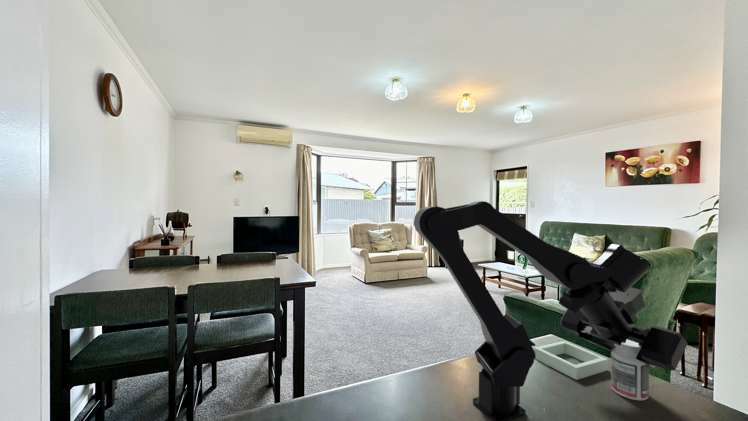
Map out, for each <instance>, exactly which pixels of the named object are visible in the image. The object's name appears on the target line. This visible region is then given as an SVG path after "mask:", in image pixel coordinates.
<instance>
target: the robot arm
mask: <svg viewBox="0 0 748 421" xmlns="http://www.w3.org/2000/svg"><path fill="white" fill-rule="evenodd" d="M476 226H478V227H480V228H481V229H483V231H486V232H487V233H489V234H490V235H492V236H493V237H495V238H496V239H498V240H499V241H501V242H502V243H504V244H506V245H507V246H508V247H510V248H511V249H513V250H514V251H516V252H517V253H519V254H521V256H523V257H525V258H526V259H527V260H528V261H529V262H530V263H531V265H532V266H533V268H534V269H535V270H536V271H538V273H539V274H541V275H542V276H543V277H544V278H545V280H547V281H549V282H552V283H554V284H557V285H559V286H562V287H564V288H566V289H567V291H564V292H562V294H561V295H562V296H560V298H559V301H558V304H559V305H560V306H562V307H563V308H566V310H565V312H564V313H563V315H562V317H561V319H560V326H561V328H562V329H563V331H564V332H567V333H569V334H572V335H574V336H577V337H578V338H580V339H583V340H584V341H588V342H589V343H592V344H594V345H596V346H598V347H600V348H603V349H606V350H608V351H610V352H612V350H613V349H615V348H616V347H615V345H614V344H617V345H619V346H620V345H621V343H625V342H626V339H628V340H631V341H633V342H636V343H639V344H638V345H639V347H641V349H640V351H639V353H638V355H637V357H636V359H637V360H639V361H641V362H643V363H645V364H647V365H649V367H651V368H654V369H655V368H656V367H657V368H658V367H659V368H661V369H663V370H666V371H668V372H672V371H676V369H677V367H678V364H679V363H680V360H681V358H682V357H683V354H684V352H685V350H686V348H687V346H688V342H687V340H686V338H685V337H684V336H683V335H682V333H681V332H678V331H675V330H671V329H668V328H664V327H662V326H657V325H653V326H651V327H650V328H646V329H644V330H643V329H640V328H637V327H634V325H636V324H637V323H638V320H639V319H638V318H637V316H636V315H637V314H638V313H639V312H640V311H641V310H642V309H644V308H645V307H646V303H645V299H644V295H643V292H642V290H641V289H639V288H635V287H633V285H635V284H636V283H637V282H638V281H639V280H640V279H641V278H642V277H643V276H644V275H645V274H646V273H647V272H649V271H650V265H649V263H648V261H647V260H645V259H644V258H642V257H640V256H639V255H637V254H636V253H634V252H633V251H630V250H629V249H626V248H625V247H624V246H623V245H622V244H616V243H611V244H610V245H609V246H608V247H607V248H606V250H605V251H604V252H603V253H602V254H601V255H600V256H599V257H598V258H596V259H595V261H594V262H589V261H588V260H587V259H586V258H585V257H583V256H580V255H578V254H575V253H573V252H572V251H571V252H570V251H568V250H565V249H563V248H560V247H557V246H555V245H552V244H551V243H548V242H546V241H544V240H543V239H541V238H540V237H539V236H537V235H535V234H534V233H532V232H531V231H529V230H528V229H526V228H525V227H524V226H522V225H520V224H519V223H518V222H516V221H514V220H513V219H511V218H510V217H508V216H507V215H505V214H504V213H502V212H501V211H499V210H498V209H497V208H495V207H494V206H493V204H492V203H490V202H488V201H472V202H471V203H469V204H464V205H463V204H462V205H457V206H452V207H446V208H445V207H442V206H438V205H437V206H424V207H422V208H421V209H419V210H418V211H417V212H416V213H415V215H414V220H413V227H414V229H415V231H416V232H417V233H418V234H419V236H420V237H421V238H422V239H423V240H424V241H425V242H426V243H427V245H429V247H430V248H432V250H433V251H434V252H435V254H437V255H438V256H439V257H440V258H441V260H442V262H443V264H444V265H445V266H446V268H447V270H448V272H449V273H450V274H451V276H452V278H453V280H454V281H455V283H456V284H457V286H458V287H459V290H460V291H461V293H462V294H463V296H464V298H465V299H466V301H467V302H468V304H469V306H470V307H471V309H472V310H473V312H474V313H475V315H476V317H477V319H478V320H479V323H480V326H481V332H482V335H483V337H484V340H485V341H484V342H483V343H482V344H481V345H480V346H479V347H478V348H477V349H476V350H475V351H474V355H475V358H476V361H477V363H479V365H480V367H481V368H482V369H481V371H479V372H478V396H477V397H473V398H472V403H473V404H474V405H475V406H476V407H478V408H479V409H480V410H482V411H483V412H484V414H486V415H487V416H489V418H491V419H492V420H493V421H509V420H513V419H515V418H519V417H522V416H524V415H526V414H527V411H526V409H524V408H523V407H522V406H520V403H521V401H520V400H521V398H520V397H521V396H520V394H521V392H520V391H521V390H520V389H521V387H523V386H524V385H525V382H526V380H527V377H528V374H529V372H530V369H531V368H532V367H533V365H534V362H535V360H536V359H535V358H536V355H535V352H534V348H533V347H536V343H535V342H533V341H532V340H531V339H530V337H529V335H528V333H527V331H526V328H525V326H524V325H523V324H522V323H521V322H520V321H518V320H517V319H515V318H514V317H513V316H511V315H510V314H509V313H505V314H503V313H502V311H501V309H500V308H499V306H498V305H497V303H496V301H495V300H494V298H493V296H492V295H491V293H490V292H489V290H488V289H487V286H486V285H485V283H484V281H483V280H482V278H481V277H480V275H479V273H478V272H477V271H476V268H475V267H474V265H473V264H472V262H471V260H470V258H469V257H468V256H467V254H466V252H465V251H464V249H463V247H462V242H461V237H460V233H459V231H463V230H466V229H469V228H473V227H476ZM632 325H633V326H632Z"/></svg>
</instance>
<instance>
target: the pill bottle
mask: <svg viewBox="0 0 748 421" xmlns="http://www.w3.org/2000/svg"><path fill="white" fill-rule="evenodd" d="M638 344H639V343H636V342H633V341H631V340H628V339H626V342H625V343H621V345H620V346H619V345H617V344H614V345H615V347H616V348H615V349H613V350H612V351H610V387H611V389H612V390H613V391H614V392H615V393H616V394H618V395H619V396H622V397H624V398H626V399H630V400H632V401H633V400H634V401H646V400H648V399H649V396H650V366H649V365H647V364H645V363H643V362H641V361H639V360H637V359H636V357H637V355H638V353H639V351H640V349H641V347H639V345H638Z"/></svg>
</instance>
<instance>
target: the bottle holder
mask: <svg viewBox="0 0 748 421" xmlns="http://www.w3.org/2000/svg"><path fill="white" fill-rule="evenodd" d="M533 349H534V352H535V355H536V358H535V359H534V360H537V361H539V362H541V363H542V364H545V365H547V366H548V367H550V368H552V369H554V370H557V371H558V372H560V373H562V374H564V375H565V376H568V377H569V378H572V379H574V380H576V381H577V380H580V379H585V378H587V377H588V378H589V377H591V376H594V375H597V374H601V373H603V372H607V371H608V370H609V367H608V366H609V360H608V358H607V357H604V356H602V355H599V354H596V353H595V352H592V351H589V350H587V349H585V348H582V347H580V346H577V345H575V344H572V343H570V342H568V341H565V340H561V341H557V342H553V343H548V344H544V345H541V346H534V348H533ZM563 354H565V355H567V356H570V357H571V358H575V359H577V360H579V361H581V362H579V363H577V364H574V363H572V362H570V361H568V360H566V359H563V358H561V357H559V355H563Z"/></svg>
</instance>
